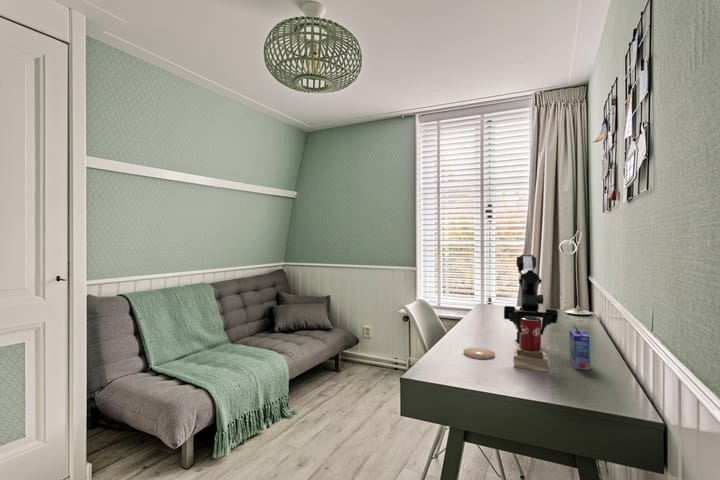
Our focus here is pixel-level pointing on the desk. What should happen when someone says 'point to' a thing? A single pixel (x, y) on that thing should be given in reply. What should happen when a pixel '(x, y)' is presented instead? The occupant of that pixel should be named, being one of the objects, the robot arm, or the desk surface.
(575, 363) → the ink cartridge box
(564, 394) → the desk surface
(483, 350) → the coaster
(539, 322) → the soda can
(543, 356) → the birch box
